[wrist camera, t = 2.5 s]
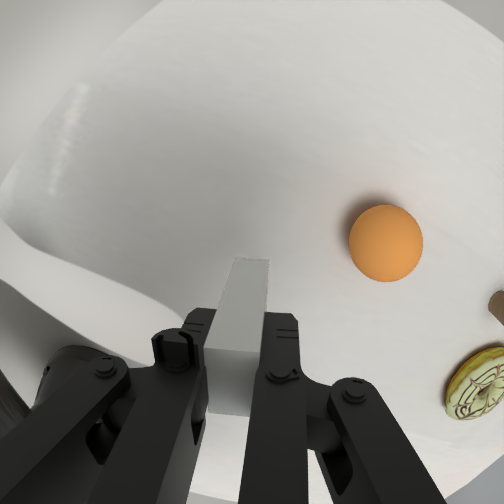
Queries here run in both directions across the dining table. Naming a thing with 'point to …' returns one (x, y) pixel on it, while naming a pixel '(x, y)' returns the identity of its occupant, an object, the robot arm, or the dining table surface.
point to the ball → (385, 243)
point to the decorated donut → (476, 385)
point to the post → (497, 306)
